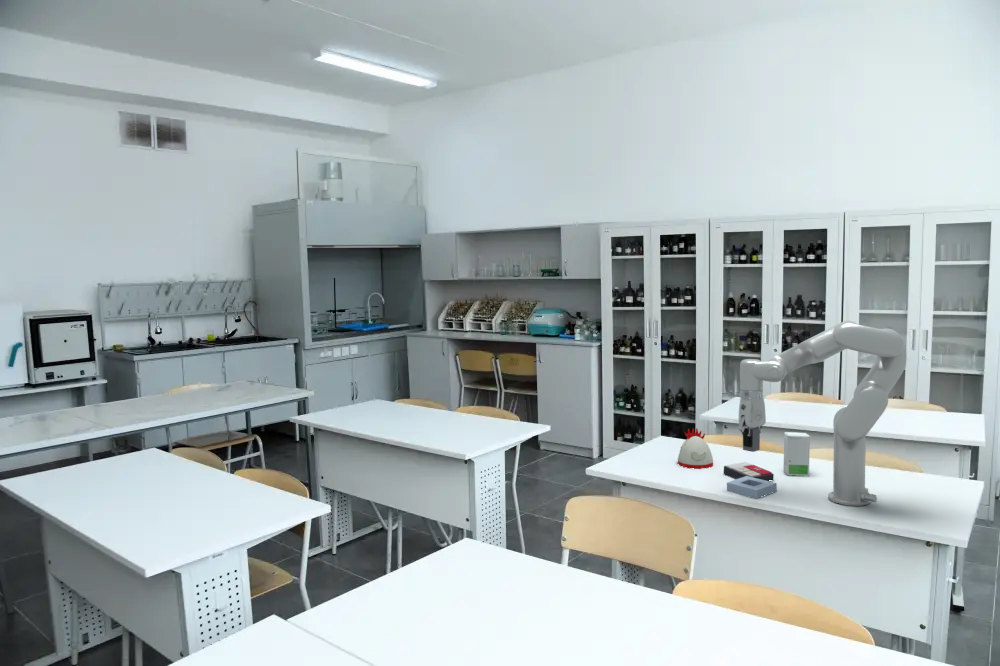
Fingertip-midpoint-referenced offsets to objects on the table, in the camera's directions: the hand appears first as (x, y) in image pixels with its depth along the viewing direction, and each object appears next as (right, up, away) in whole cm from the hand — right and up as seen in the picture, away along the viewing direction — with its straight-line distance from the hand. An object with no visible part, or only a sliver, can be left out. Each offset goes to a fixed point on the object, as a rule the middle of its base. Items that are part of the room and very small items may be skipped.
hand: (751, 444), depth 241 cm
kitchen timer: (-9, -14, +38) cm, 41 cm away
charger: (0, -2, 0) cm, 2 cm away
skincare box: (+25, -15, +20) cm, 35 cm away
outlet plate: (+1, -17, +1) cm, 17 cm away
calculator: (+5, -16, +18) cm, 24 cm away
